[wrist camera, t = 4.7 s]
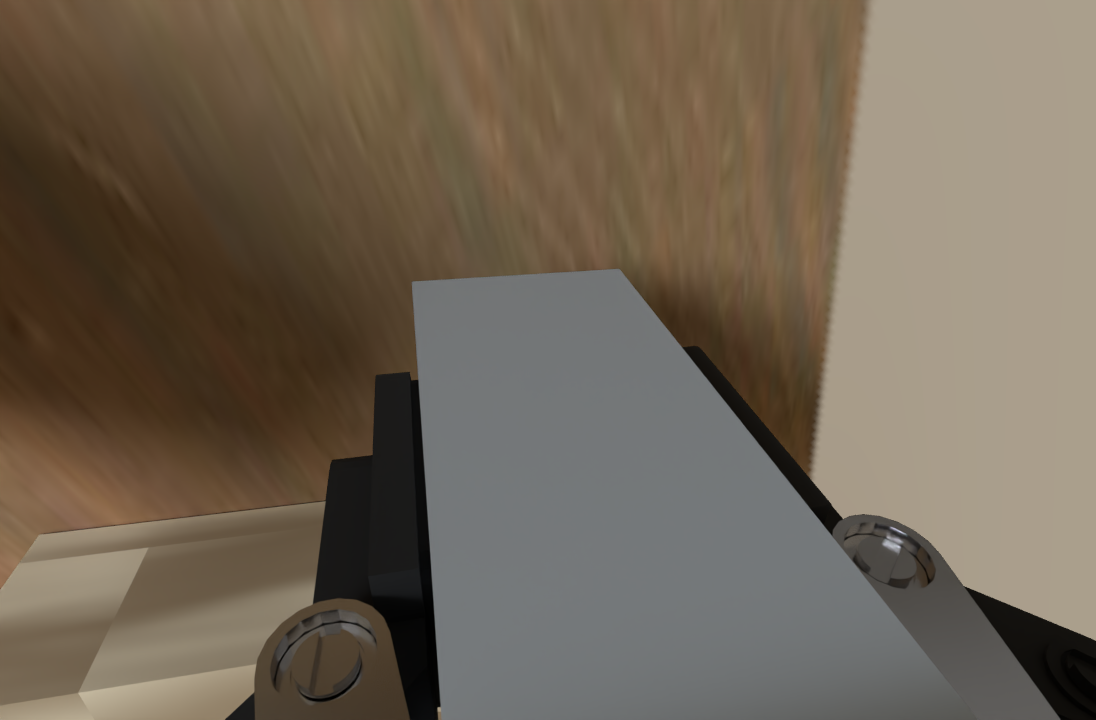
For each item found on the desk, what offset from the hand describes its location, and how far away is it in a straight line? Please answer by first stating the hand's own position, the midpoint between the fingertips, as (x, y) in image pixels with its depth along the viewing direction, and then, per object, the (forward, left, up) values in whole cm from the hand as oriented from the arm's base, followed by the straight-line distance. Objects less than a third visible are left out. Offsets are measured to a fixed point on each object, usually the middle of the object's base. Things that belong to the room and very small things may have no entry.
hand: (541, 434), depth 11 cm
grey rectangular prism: (0, 0, -2) cm, 2 cm away
